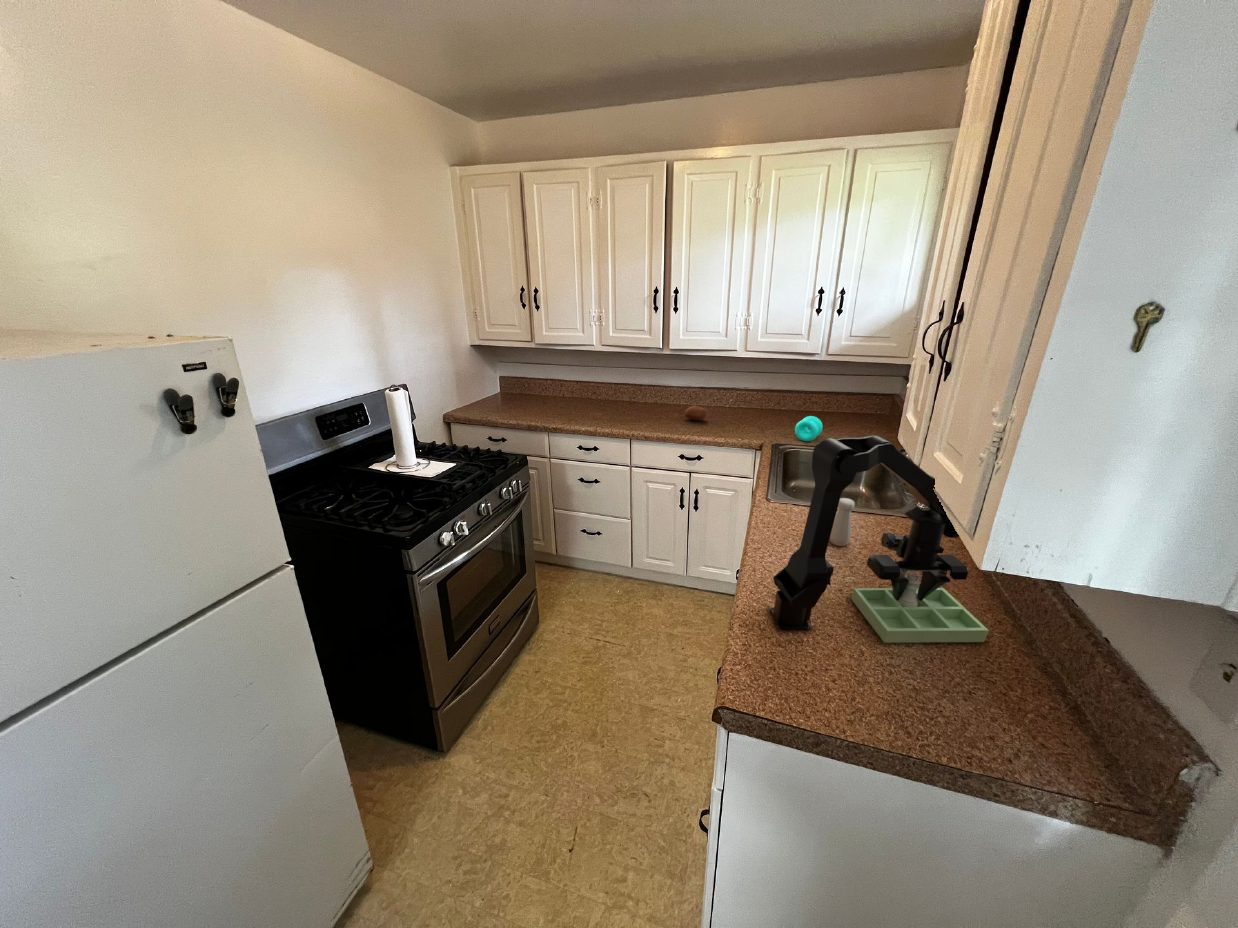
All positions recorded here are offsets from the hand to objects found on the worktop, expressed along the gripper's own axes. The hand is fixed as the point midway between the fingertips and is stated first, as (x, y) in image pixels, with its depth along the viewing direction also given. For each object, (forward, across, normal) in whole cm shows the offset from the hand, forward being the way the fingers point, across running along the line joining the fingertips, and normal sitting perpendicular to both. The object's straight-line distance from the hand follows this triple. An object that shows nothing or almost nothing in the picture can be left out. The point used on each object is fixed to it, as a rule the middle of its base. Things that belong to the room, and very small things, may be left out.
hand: (907, 599), depth 105 cm
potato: (+3, +21, -149) cm, 151 cm away
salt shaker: (+3, +2, -29) cm, 29 cm away
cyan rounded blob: (+3, -25, -120) cm, 122 cm away
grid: (+3, 0, +3) cm, 4 cm away
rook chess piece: (+2, 0, 0) cm, 2 cm away
